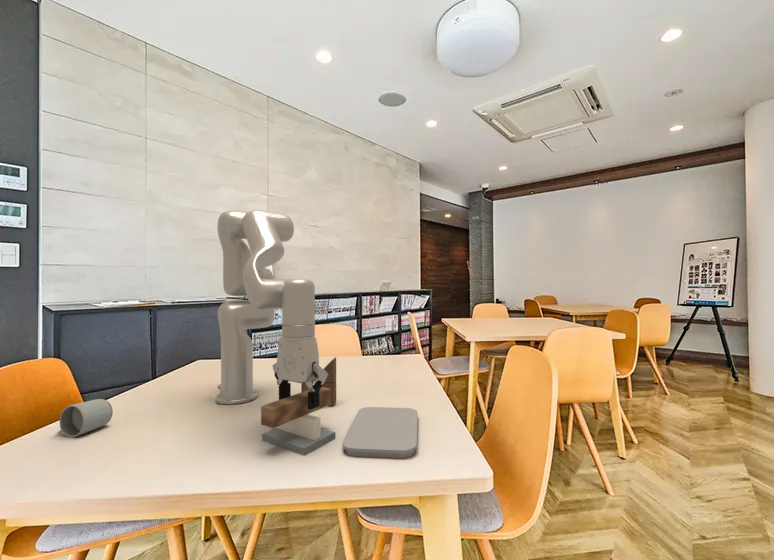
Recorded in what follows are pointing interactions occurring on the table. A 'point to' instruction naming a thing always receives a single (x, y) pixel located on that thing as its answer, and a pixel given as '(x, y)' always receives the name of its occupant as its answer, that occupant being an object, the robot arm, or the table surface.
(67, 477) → the table surface
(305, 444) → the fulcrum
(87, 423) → the grey hollow cylinder
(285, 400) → the walnut bar
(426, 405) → the table surface
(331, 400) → the brown wooden block stack
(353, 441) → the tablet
